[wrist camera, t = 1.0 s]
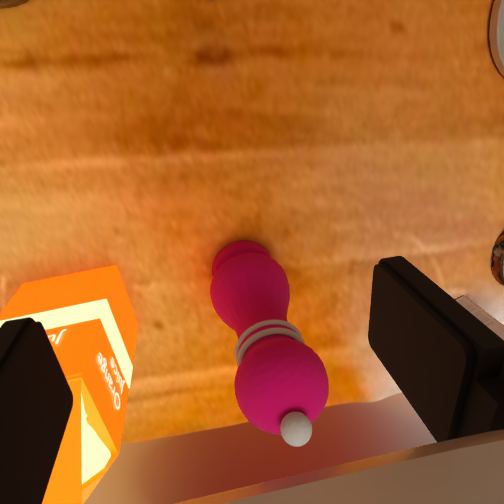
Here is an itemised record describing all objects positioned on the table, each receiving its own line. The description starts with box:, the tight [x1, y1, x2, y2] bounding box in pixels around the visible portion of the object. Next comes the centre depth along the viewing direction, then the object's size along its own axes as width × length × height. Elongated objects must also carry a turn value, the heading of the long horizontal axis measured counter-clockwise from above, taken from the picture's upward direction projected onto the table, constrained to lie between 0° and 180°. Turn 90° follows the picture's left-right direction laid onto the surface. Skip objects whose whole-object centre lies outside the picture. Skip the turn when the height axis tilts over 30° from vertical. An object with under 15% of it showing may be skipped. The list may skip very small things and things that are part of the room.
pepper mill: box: [210, 241, 329, 446], centre depth 28 cm, size 7×7×20 cm
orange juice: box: [0, 265, 138, 504], centre depth 27 cm, size 8×9×20 cm
